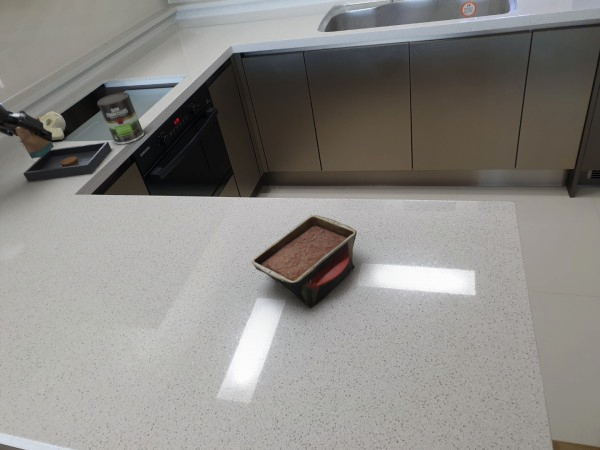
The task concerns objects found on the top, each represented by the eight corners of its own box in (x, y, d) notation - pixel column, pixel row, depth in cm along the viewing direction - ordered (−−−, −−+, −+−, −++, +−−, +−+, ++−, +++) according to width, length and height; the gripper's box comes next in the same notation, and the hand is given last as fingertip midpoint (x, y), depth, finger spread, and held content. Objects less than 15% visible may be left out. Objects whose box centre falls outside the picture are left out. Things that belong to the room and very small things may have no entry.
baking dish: (257, 287, 89) (241, 253, 82) (322, 231, 95) (312, 195, 88) (307, 328, 79) (293, 295, 73) (375, 263, 86) (368, 227, 79)
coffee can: (144, 139, 154) (128, 98, 146) (113, 147, 153) (95, 107, 145) (144, 128, 163) (129, 89, 154) (115, 136, 161) (98, 97, 153)
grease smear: (59, 167, 145) (57, 165, 144) (66, 160, 149) (65, 157, 148) (73, 165, 144) (72, 163, 144) (80, 158, 148) (79, 155, 148)
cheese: (80, 135, 173) (54, 108, 175) (72, 127, 166) (45, 99, 168) (47, 162, 170) (21, 134, 172) (38, 155, 163) (10, 126, 164)
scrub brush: (31, 158, 142) (14, 128, 136) (42, 148, 148) (26, 119, 142) (43, 156, 142) (26, 127, 136) (54, 146, 147) (38, 117, 142)
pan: (27, 181, 142) (22, 173, 141) (52, 157, 155) (48, 149, 153) (91, 173, 139) (87, 164, 137) (111, 149, 152) (108, 141, 150)
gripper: (-46, 126, 124) (20, 152, 147) (10, 117, 121) (68, 145, 144) (-45, 100, 125) (20, 130, 148) (11, 91, 123) (68, 123, 145)
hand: (44, 137), depth 146 cm, fingers closed on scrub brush, 4 cm apart
